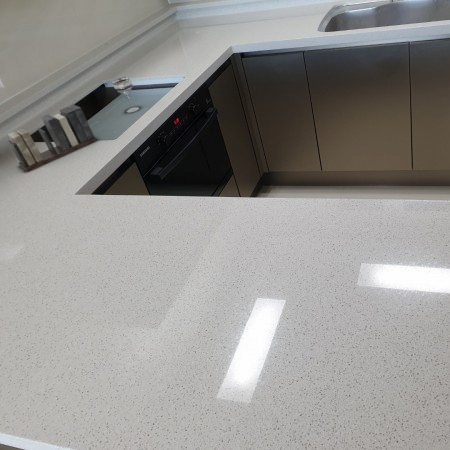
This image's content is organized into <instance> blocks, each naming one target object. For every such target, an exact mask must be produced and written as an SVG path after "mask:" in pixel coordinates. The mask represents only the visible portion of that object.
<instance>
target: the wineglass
mask: <svg viewBox="0 0 450 450" xmlns="http://www.w3.org/2000/svg"><path fill="white" fill-rule="evenodd" d="M112 84H113V88H114V90H115V91H116V92H117V93H119V94H121V95H122V94H123V95H125V96H126V98H127V101H128V103H129V105H130V108H129V109H128V110H126V113H134V112H136V111H138V110H140V107H138V106H135V107H134V106H133V105H132V102H131V100H130V99H131V98H130V96H129V94H130V92H131V91H132V89H133V81H132V80H131V77H130V76H122V77H119V78H116V79H114V80H112Z"/></svg>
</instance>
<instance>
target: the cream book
mask: <svg viewBox="0 0 450 450" xmlns="http://www.w3.org/2000/svg"><path fill="white" fill-rule="evenodd" d="M51 116H52V117H54V118H55V119H56V121H57V123H58V125H59V127H60V129H61V131H62V133H63V135H64V137H65V139H66V141H67V142H68V144H69V145H70V146H72V147H73V146H76V145H78V142H77V140H76V138H75V136H74V134H73V132H72V130H71V128H70V126H69V123H68V121H67V119H66V117H64V116H62V114H61V113H57V114H54V115H51Z"/></svg>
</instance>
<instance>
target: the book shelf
mask: <svg viewBox="0 0 450 450" xmlns="http://www.w3.org/2000/svg"><path fill="white" fill-rule="evenodd" d="M59 112H60V115H62V116H64V117H66V119H67V121H68V123H69V126H70V128H71V130H72V132H73V134H74V136H75V138H76V140H77V142H78V145H76V146H73V147H72V146H70V145H69V144H68V142H67V141H66V139H65V137H64V135H63V133H62V131H61V129H60V127H59V125H58V123H57V121H56V119H55V118H54V117H52V116H53V115H50V114H45V115H43V116H41V117H40V118H41V120H42V122H43V124H44V126H45V128H46V129H47V131H48V133H49V135H50V137H49V135H48V133H47V132H46V131H45V130H43V129H42V128H40V127H38V128H37V130H38V132H39V134H40V136H41V138H42V139H43V142H44V143H45V145H46V147H47V150H45V151H42V152H40V150H39V149H38V147H37V145H36V143H35V141H34V139H33V137H32V136H31V134H30V132H29V131H28V130H27V129H25V128H23V127H22V128H19V129H17V130H15V131H12V132H9V133H7V136H8V138H9V139H8V140H7V142H8V144H9V146H10V148H11V149H12V151H13V153H14V154H15V156H16V158H17V160H18V161H19V162H18V165H19V166H20V168H21V169H23V170H24V171H26V172H30V171H32V170H35V169H37V168H39V167H42V166H44V165H46V164H48V163H50V162H53V161H55V160H57V159H60V158H62V157H64V156H66V155H68V154H70V153H73V152H75V151H78V150H80V149H82V148H84V147H86V146H89V145H91V144H93V143H95V142H97V141H98V140H97V138H96V136H95V135H94V133H93V131H92V128H91V126H90V124H89V122H88V120H87V118H86V115H85V113H84V111H83V109H82V107H81V106H78V105H76V104H71V105H68V106H66V107H63V108H60V109H59ZM50 138H51V139H52V140H51V139H50ZM52 141H53V143H54V145H55V146H54V145H53V143H52Z"/></svg>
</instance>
